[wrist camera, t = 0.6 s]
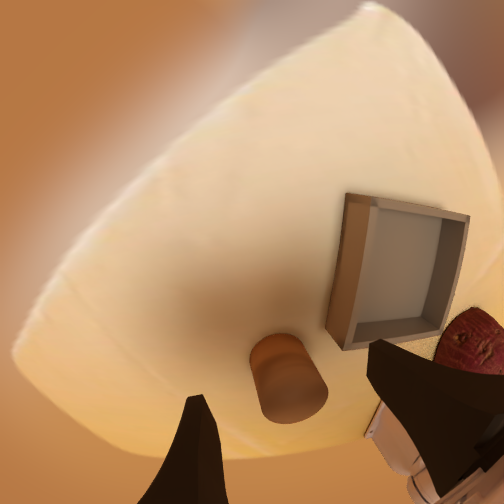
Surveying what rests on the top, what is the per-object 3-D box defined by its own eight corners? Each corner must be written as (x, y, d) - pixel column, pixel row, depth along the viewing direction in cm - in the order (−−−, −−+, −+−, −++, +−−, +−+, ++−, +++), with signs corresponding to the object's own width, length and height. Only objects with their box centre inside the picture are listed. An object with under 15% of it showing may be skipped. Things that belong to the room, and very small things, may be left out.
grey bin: (419, 318, 23) (441, 334, 20) (324, 327, 22) (342, 351, 18) (443, 209, 21) (470, 215, 17) (345, 192, 19) (371, 196, 16)
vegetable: (424, 374, 30) (462, 462, 17) (422, 328, 26) (481, 437, 13) (482, 339, 28) (529, 414, 15) (489, 287, 24) (559, 371, 10)
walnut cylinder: (299, 376, 23) (320, 419, 17) (247, 379, 22) (258, 426, 17) (308, 332, 22) (335, 373, 16) (251, 333, 21) (265, 379, 16)
